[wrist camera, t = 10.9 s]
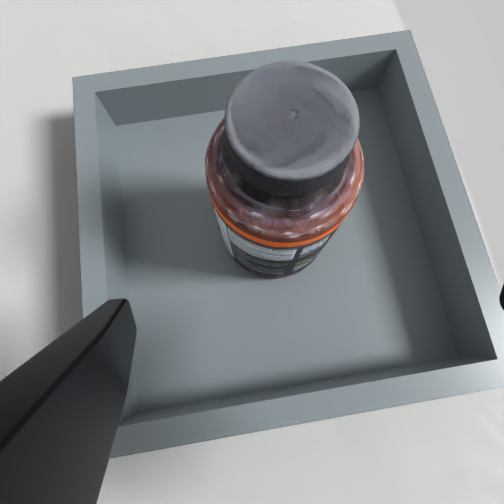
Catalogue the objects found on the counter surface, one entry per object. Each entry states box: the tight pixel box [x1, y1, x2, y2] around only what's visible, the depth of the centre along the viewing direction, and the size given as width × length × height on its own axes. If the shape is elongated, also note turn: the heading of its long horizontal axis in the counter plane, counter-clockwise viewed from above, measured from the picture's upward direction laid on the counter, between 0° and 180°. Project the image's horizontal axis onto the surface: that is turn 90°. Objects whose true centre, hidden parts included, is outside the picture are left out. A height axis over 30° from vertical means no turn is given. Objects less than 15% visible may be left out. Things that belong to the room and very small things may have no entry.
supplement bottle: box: [205, 61, 364, 279], centre depth 16 cm, size 6×6×11 cm
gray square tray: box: [72, 30, 504, 458], centre depth 20 cm, size 20×20×4 cm
